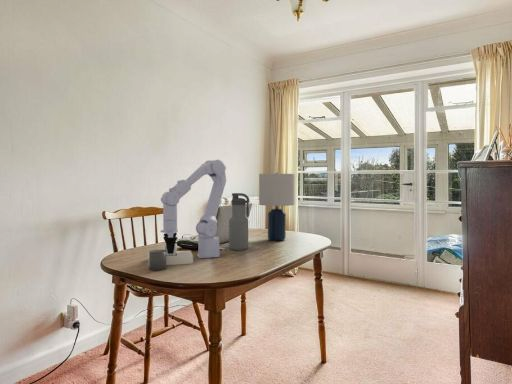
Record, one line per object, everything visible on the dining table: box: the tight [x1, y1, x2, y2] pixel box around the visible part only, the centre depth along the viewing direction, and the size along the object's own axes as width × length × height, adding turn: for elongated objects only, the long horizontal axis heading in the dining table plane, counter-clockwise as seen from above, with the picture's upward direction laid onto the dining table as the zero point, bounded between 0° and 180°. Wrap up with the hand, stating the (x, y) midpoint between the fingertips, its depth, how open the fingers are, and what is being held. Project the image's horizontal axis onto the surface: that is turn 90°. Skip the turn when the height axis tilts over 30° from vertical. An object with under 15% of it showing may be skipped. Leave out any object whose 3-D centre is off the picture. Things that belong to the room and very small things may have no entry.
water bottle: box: [228, 192, 250, 251], centre depth 172 cm, size 10×10×28 cm
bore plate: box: [147, 250, 194, 267], centre depth 145 cm, size 18×12×3 cm, turn 105°
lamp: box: [258, 172, 296, 242], centre depth 196 cm, size 20×20×39 cm
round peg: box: [148, 249, 167, 272], centre depth 133 cm, size 6×6×7 cm
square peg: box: [164, 244, 177, 256], centre depth 145 cm, size 4×4×7 cm
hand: (170, 251), depth 145 cm, fingers open, 7 cm apart
